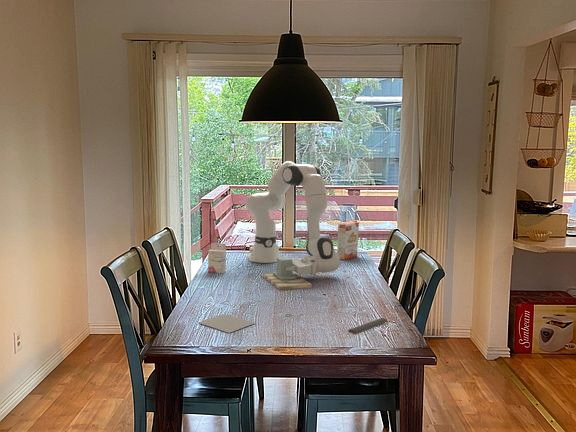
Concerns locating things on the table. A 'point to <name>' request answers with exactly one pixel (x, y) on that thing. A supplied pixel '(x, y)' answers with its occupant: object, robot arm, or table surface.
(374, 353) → the table surface
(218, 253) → the ink cartridge box
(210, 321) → the paper stack
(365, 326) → the half round rod
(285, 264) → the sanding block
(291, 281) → the birch board
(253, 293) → the table surface
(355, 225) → the cracker box
